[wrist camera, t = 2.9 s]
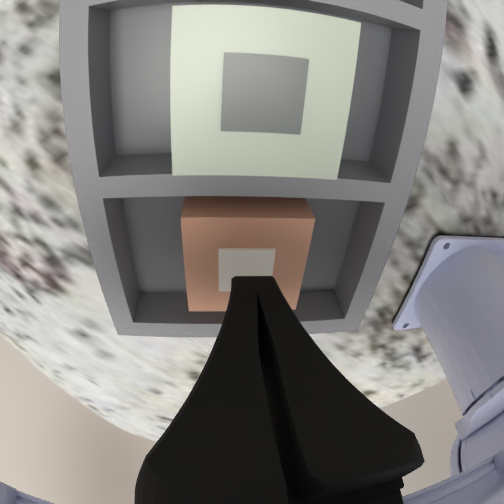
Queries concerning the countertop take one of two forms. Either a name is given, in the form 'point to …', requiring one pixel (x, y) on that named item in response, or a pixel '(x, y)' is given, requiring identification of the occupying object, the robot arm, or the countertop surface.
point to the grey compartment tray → (177, 187)
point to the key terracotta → (243, 245)
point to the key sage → (259, 90)
